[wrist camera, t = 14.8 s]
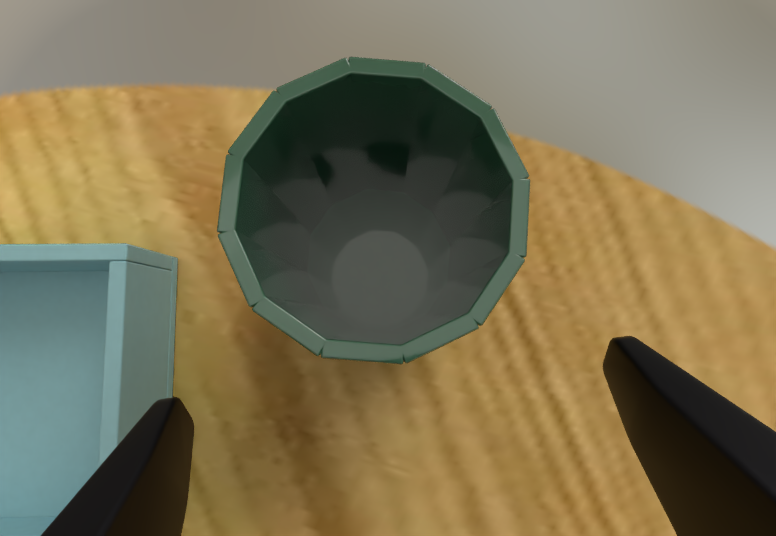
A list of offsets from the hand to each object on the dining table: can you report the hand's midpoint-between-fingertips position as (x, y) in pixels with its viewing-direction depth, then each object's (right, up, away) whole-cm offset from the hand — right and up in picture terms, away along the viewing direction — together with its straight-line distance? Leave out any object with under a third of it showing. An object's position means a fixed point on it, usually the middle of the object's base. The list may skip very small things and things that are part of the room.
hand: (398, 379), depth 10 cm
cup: (-1, +3, +10) cm, 11 cm away
